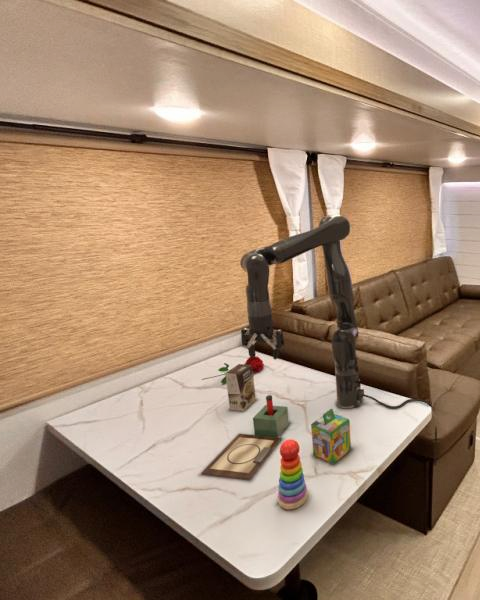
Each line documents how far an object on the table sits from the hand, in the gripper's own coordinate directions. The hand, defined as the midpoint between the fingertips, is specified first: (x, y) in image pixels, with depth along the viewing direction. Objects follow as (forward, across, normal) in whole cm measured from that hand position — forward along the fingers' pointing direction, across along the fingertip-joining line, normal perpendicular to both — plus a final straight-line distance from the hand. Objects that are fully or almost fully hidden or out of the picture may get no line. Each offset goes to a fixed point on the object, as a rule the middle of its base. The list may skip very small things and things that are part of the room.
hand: (264, 357), depth 129 cm
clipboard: (+28, -2, -15) cm, 32 cm away
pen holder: (+28, 0, 0) cm, 28 cm away
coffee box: (+28, -20, +14) cm, 37 cm away
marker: (+28, 0, 0) cm, 28 cm away
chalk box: (+28, +26, -9) cm, 39 cm away
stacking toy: (+28, +22, -30) cm, 47 cm away
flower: (+28, -37, +36) cm, 59 cm away
